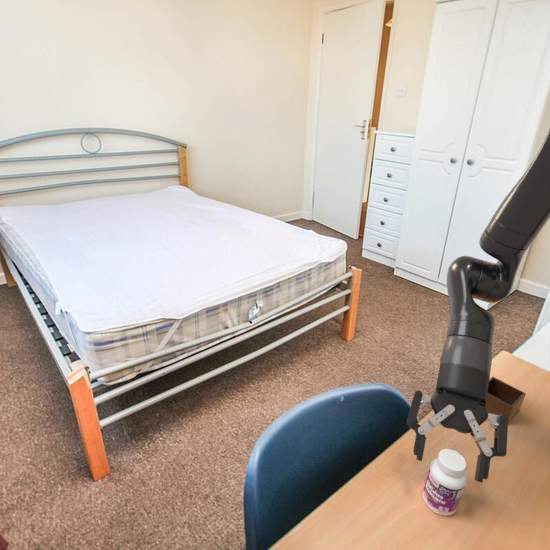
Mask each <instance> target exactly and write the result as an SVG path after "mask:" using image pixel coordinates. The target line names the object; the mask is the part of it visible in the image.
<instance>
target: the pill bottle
mask: <svg viewBox="0 0 550 550" xmlns="http://www.w3.org/2000/svg"><path fill="white" fill-rule="evenodd" d="M466 469H467V461H466V459H465V457H464V456H463V455H462V454H461V453H459V451H457V450H454V449H450V448H443V449H441V450H440V451H439V452H438V455H437V457H435V458H434V459H433V460H432V461H431V462H430V464H429V468H428V472H427V475H426V479H425V482H424V485H423V489H422V499H423V502H424V503H425V505H426V506H427V507H428V508H429V509H430V511H432V512H433V513H435V514H437V515H440V516H445V517H449V516H451V515H454V513H456V512H457V510H458V507H459V504H460V502H461V499H462V496H463V494H464V490H465V488H466V485H467V482H468V475H467V472H466Z"/></svg>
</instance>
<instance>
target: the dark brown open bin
mask: <svg viewBox="0 0 550 550" xmlns="http://www.w3.org/2000/svg"><path fill="white" fill-rule="evenodd" d="M526 394H527V393H526V392H524V391H522V390H520V389H519V388H516V387H515V386H512V385H511V384H509V383H507V382H504V381H503V380H500V379H499V378H497V377H495V376H491V377H490V378H489V385H488V392H487V400H486V410H487V412H488V413H491V414H495V415H505V416H506V417H507V418H508V423H509V422H510V421H511V420H512V419H513V418H514V417H515V416H516V415H517V414H518V412H519V411H520V410H521V408H522V406H523V402H524V400H525V397H526Z"/></svg>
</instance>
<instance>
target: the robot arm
mask: <svg viewBox="0 0 550 550" xmlns="http://www.w3.org/2000/svg"><path fill="white" fill-rule="evenodd" d="M549 220H550V128H549V129H548V131H547V133H546V136H545V138H544V140H543V142H542V144H541V145H540V148H539V150H538V151H537V153H536V155H535V157H534V158H533V160H532V162H531V163H530V164H529V166H528V168H527V169H526V170H525V172H524V173H523V175H522V176H521V177H520V178H519V180H518V181H517V182H516V183H515V184H514V186H513V187H512V188H511V189H510V191H509V192H507V194H506V196H505V197H504V199H503V200H502V201H501V203H500V204H499V206H498V207H497V208H496V211H495V212H494V214H493V215H492V217H491V218H490V220H489V222H488V224H487V225H486V227H485V228H484V230H483V232H482V233H481V235H480V237H479V242H478V243H479V247H480V249H481V250H482V251H483V252H485V254H487V255H488V256H490V257H491V258H493V259H496V260H497V261H496V262H491V261H487V260H483V259H480V258H477V257H474V256H469V255H461V256H458V257H456V258H455V259H454V260H453V261H452V262H451V263H450V264H449V266H448V269H447V271H446V288H447V296H448V303H449V304H448V305H449V322H448V327H447V333H446V334H447V335H446V339H445V342H444V345H443V348H442V352H441V356H440V359H439V368H438V373H437V379H436V385H435V390H434V394H433V395H432V396H431V395H428V394H425V393H423V392H422V391H421V390H416V391H414V394H413V397H412V399H411V405H410V407H409V411H408V416H407V419H406V426H407V427H408V428H409V429H411V430H412V431H414V433H415V440H414V445H413V448H412V449H413V450H412V451H413V452H412V453H413V455H414V456H416V460H417V461H418V462H419V461H420V462H422V461H423V458H424V452H425V446H426V440H427V436H426V434H427V433H428V432H429V431H431V430H432V429H433V428H435V427H436V426H437V425H439V424H440V426H442V428H445V429H448V430H455V431H456V432H458V433H460V434H469V435H470V437H471V439H472V441H473V442H474V443H475V445H476V447H477V449H478V451H479V454H477V459H476V467H475V473H474V481H476V482H479V483H481V484H482V483H483V482H484V480H485V481H486V480H488V478H489V473H490V466H491V459H492V458H493V457H506V456H507V452H508V451H507V450H508V449H507V448H508V431H509V430H508V428H509V422H508V418H507V417H506V416H505V415H495V414H491V413H488V412H487V410H486V400H487V392H488V385H489V379H490V378H491V370H492V365H493V364H492V362H493V343H494V336H495V330H496V329H495V328H496V318H495V316H494V314H493V313H492V312H490V311H489V310H487V309H486V308H484V307H482V306H480V305H479V304H478V303H476V301H475V300H479V301H482V302H485V303H489V304H496V303H500V302H501V301H504V300H506V298H507V297H508V296H509V295H510V294H511V292H512V289H513V287H514V283H515V280H516V275H517V273H518V270H519V267H520V265H521V263H522V260H523V257H524V255H526V252H527V251H528V249H529V248H530V246H531V245H533V242H534V241H535V240H536V238H537V237H538V235H540V233H541V231H542V230H543V228H544V227H545V226H546V224H547V223H548V221H549ZM474 299H475V300H474ZM427 403H429V405H430V406H431V408H432V411H433V413H434V415H432V417H431V418H429V419H428V420H426V421H425V422H424V423H422V424H419V423H418V422H417V418H418V414H419V410H420V407H421V408H423V407H425V406H426V404H427ZM486 421H488V422H489V424H490V427H491V428H492V429H494V433H493V434H494V435H493V447H492V446H491V447H490V445H489V443H488V441H487V439H486V436H485V434H484V432H483V430H482V428H481V427H480V426H481V425H483V423H484V422H485V423H486Z"/></svg>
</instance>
